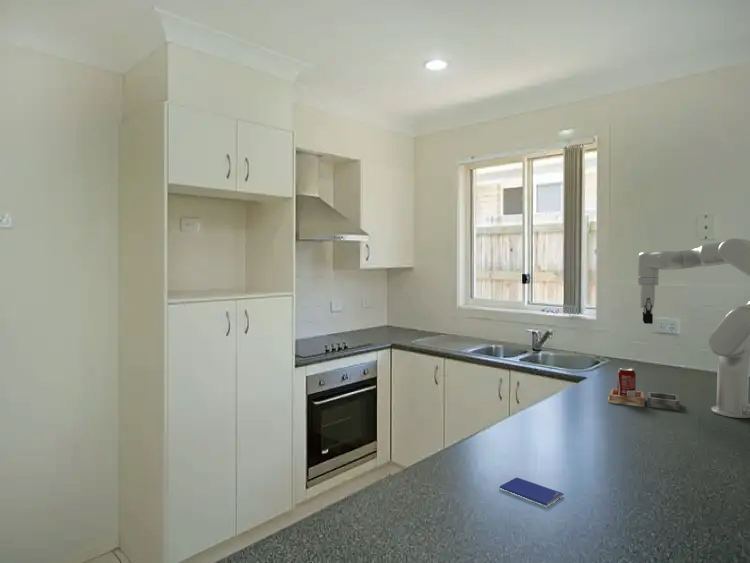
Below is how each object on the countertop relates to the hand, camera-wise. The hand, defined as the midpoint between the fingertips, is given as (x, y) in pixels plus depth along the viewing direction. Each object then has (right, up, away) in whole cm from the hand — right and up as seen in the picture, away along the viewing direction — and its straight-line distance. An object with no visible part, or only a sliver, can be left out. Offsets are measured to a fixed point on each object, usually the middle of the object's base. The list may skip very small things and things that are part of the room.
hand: (647, 322), depth 213 cm
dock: (-7, -31, -11) cm, 34 cm away
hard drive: (-77, -35, -91) cm, 124 cm away
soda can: (-13, -30, -8) cm, 34 cm away
